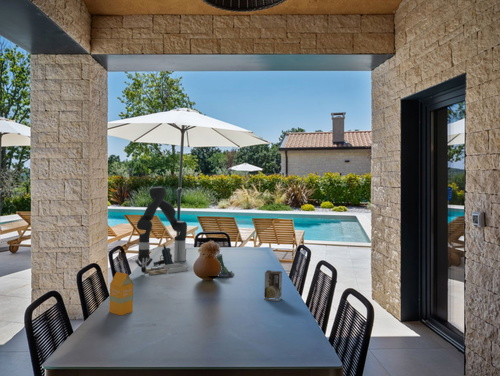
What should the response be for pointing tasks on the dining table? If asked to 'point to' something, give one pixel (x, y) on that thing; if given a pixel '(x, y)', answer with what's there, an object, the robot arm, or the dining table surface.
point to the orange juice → (121, 294)
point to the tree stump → (224, 269)
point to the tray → (173, 266)
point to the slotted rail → (156, 271)
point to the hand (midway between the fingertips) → (143, 272)
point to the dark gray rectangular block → (154, 268)
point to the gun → (165, 257)
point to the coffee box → (273, 285)
